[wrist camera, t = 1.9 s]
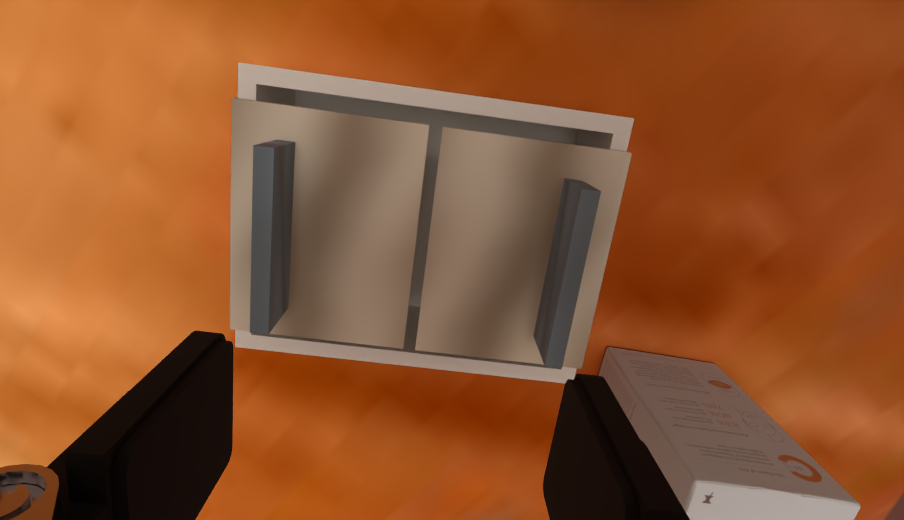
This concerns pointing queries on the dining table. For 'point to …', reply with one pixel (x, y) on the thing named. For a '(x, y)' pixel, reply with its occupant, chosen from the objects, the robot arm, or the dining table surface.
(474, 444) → the dining table surface
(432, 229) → the lid panel
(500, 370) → the carton
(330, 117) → the lid panel
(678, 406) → the small box
